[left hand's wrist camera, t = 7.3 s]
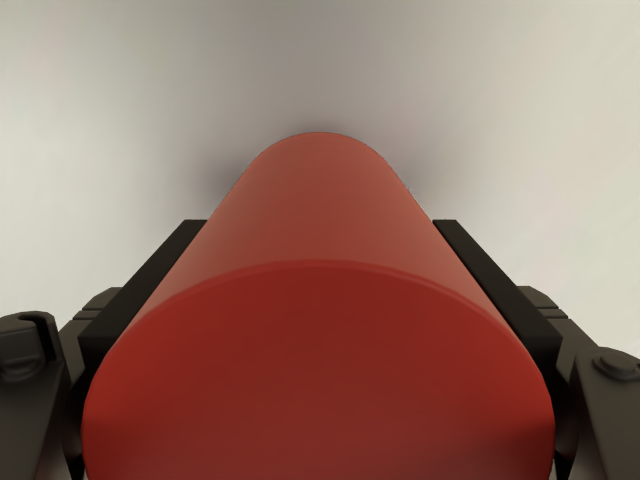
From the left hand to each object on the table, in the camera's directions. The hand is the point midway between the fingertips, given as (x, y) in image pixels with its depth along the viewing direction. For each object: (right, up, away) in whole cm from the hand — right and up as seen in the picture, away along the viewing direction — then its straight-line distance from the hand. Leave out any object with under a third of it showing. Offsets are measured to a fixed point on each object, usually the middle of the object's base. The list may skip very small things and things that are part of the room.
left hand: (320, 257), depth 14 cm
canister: (0, +1, +4) cm, 4 cm away
